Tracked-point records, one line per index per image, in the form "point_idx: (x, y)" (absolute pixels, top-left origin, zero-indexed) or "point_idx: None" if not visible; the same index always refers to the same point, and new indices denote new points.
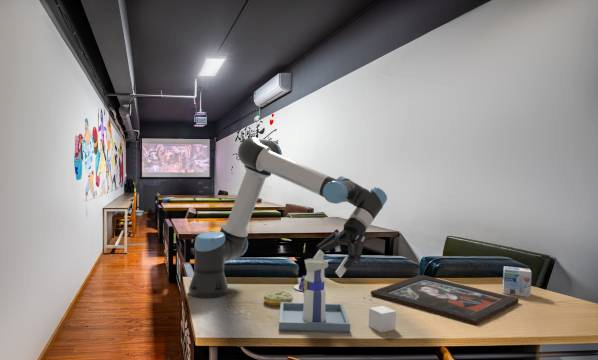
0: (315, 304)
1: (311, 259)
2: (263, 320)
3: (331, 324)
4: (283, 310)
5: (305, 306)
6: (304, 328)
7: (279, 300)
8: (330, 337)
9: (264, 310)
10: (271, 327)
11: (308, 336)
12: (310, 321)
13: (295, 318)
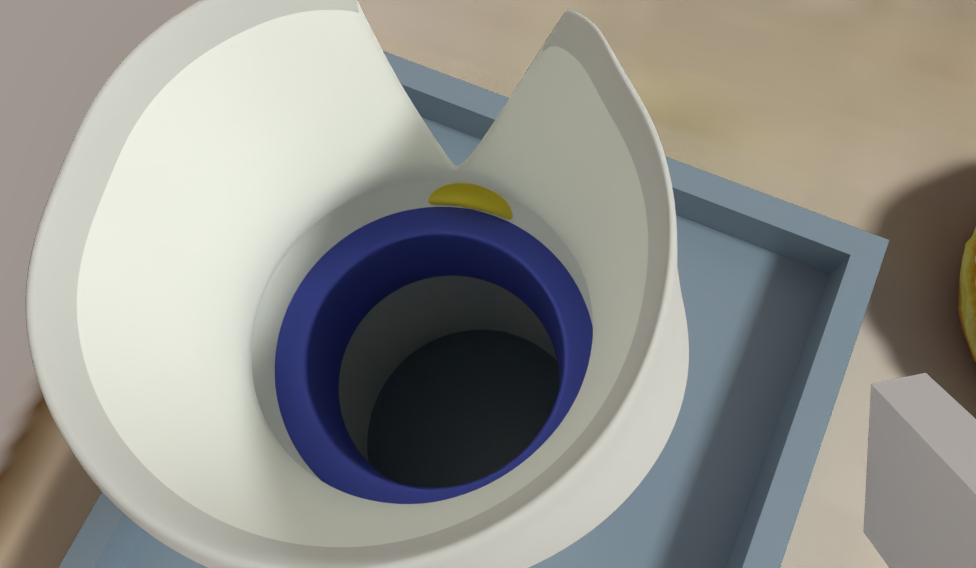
0: (346, 363)
1: (657, 238)
2: (618, 45)
3: None
4: (777, 256)
5: (451, 300)
6: None
7: (974, 261)
8: None
9: (863, 124)
10: (455, 54)
11: None
12: (400, 360)
13: None
